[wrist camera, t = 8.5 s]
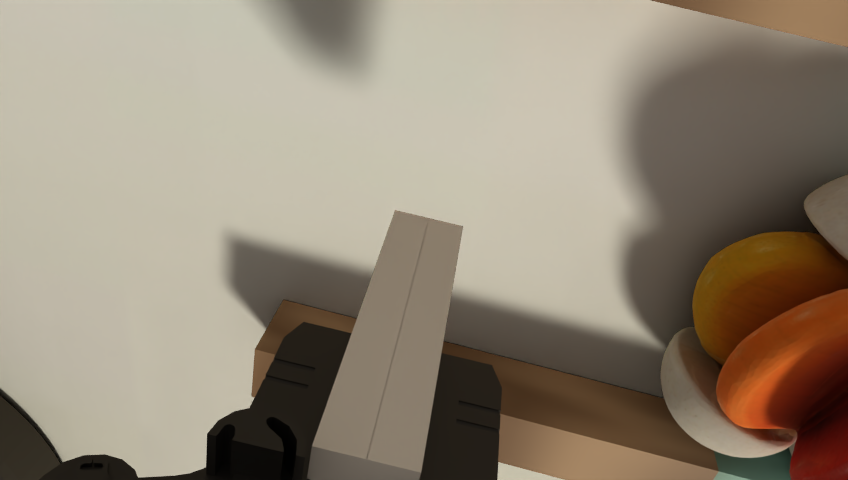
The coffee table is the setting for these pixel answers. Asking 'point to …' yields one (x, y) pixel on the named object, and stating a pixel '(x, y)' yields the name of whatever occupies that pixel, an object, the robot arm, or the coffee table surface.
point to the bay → (591, 400)
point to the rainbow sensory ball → (771, 346)
